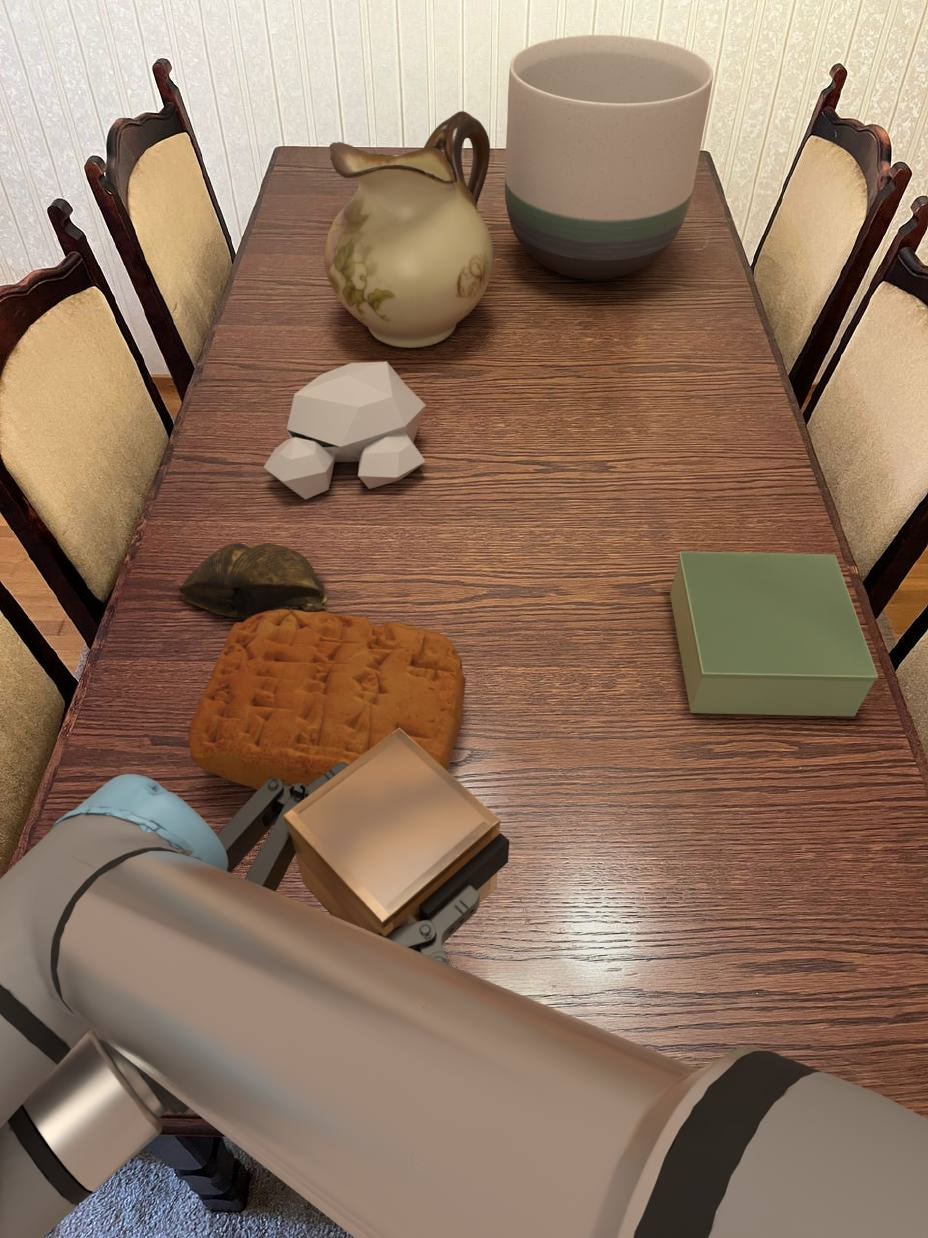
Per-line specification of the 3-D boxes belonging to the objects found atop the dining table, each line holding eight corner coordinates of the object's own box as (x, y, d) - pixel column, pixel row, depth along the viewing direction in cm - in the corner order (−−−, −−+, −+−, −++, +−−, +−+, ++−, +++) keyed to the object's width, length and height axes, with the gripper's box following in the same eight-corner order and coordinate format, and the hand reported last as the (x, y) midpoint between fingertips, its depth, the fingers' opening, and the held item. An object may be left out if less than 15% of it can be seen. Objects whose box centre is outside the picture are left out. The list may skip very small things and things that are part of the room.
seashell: (165, 616, 90) (154, 556, 86) (208, 570, 97) (200, 513, 93) (319, 646, 87) (316, 586, 83) (352, 597, 94) (350, 539, 90)
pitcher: (325, 369, 120) (300, 174, 101) (340, 280, 135) (320, 97, 117) (494, 369, 120) (500, 174, 101) (489, 280, 136) (493, 97, 117)
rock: (449, 482, 104) (448, 412, 97) (278, 521, 100) (263, 451, 93) (404, 395, 116) (400, 327, 109) (248, 426, 111) (233, 358, 104)
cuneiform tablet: (186, 795, 77) (163, 742, 71) (254, 644, 88) (239, 587, 82) (439, 839, 74) (437, 788, 68) (477, 678, 86) (478, 622, 80)
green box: (856, 717, 83) (878, 677, 78) (689, 714, 83) (702, 673, 78) (817, 596, 93) (835, 554, 88) (668, 593, 93) (679, 551, 88)
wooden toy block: (497, 888, 59) (500, 819, 52) (392, 984, 55) (382, 923, 48) (406, 800, 63) (399, 726, 57) (303, 884, 59) (282, 815, 53)
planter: (651, 218, 149) (681, 30, 129) (699, 302, 131) (742, 99, 111) (490, 227, 147) (495, 37, 126) (516, 314, 129) (527, 109, 109)
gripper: (55, 941, 55) (346, 727, 65) (265, 1258, 44) (573, 943, 54) (7, 885, 49) (335, 661, 59) (235, 1233, 38) (585, 888, 49)
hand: (449, 796), depth 57 cm, fingers closed on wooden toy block, 9 cm apart
